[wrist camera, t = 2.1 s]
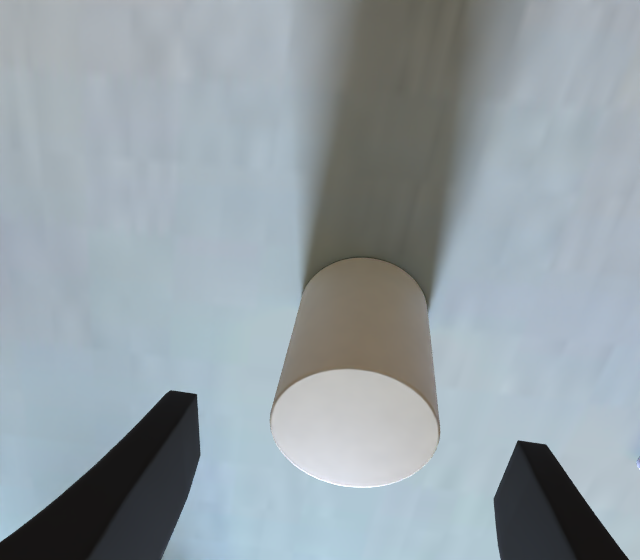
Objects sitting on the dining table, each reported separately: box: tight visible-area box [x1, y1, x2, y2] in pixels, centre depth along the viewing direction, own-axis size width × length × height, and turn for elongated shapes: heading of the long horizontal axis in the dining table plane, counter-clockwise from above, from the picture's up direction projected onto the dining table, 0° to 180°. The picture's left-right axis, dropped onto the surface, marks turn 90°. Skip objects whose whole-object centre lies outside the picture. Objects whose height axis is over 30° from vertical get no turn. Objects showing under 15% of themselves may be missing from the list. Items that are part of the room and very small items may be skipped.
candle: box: [270, 258, 440, 487], centre depth 14 cm, size 4×4×5 cm
